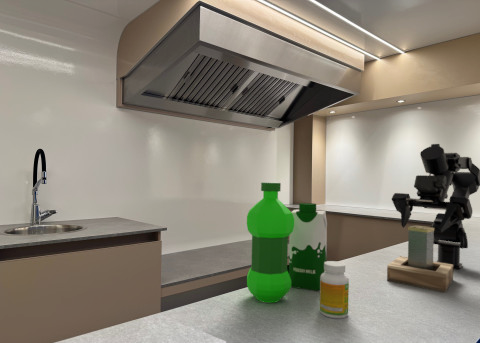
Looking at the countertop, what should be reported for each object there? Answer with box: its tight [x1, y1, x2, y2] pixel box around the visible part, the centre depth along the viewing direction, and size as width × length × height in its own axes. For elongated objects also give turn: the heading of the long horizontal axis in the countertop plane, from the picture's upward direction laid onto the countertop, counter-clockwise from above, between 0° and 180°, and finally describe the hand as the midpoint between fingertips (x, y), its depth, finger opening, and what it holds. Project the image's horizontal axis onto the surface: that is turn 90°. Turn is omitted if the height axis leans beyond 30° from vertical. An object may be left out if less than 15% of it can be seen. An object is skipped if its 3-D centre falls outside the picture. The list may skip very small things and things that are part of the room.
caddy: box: [386, 255, 454, 294], centre depth 88 cm, size 13×13×4 cm
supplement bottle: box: [319, 260, 350, 319], centre depth 66 cm, size 5×5×10 cm
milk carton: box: [288, 202, 328, 292], centre depth 83 cm, size 9×9×20 cm
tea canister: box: [407, 224, 434, 271], centre depth 88 cm, size 5×5×13 cm
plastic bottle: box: [246, 182, 294, 304], centre depth 73 cm, size 10×10×25 cm
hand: (420, 228), depth 88 cm, fingers open, 9 cm apart
